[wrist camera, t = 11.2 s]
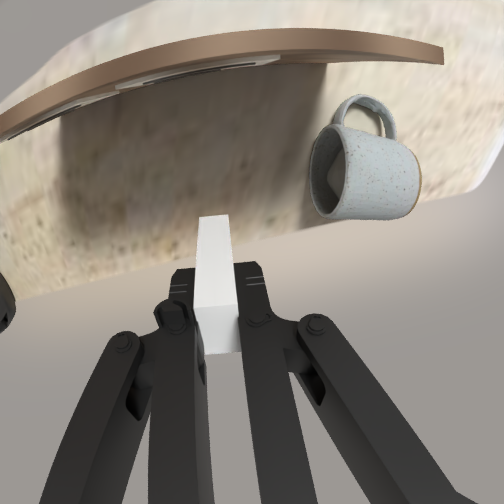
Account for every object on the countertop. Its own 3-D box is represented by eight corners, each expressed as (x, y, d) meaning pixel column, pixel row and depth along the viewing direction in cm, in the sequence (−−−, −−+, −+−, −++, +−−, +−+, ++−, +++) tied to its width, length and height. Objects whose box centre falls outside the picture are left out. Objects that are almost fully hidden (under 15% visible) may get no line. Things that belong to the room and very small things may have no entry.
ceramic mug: (376, 201, 28) (414, 239, 22) (303, 195, 27) (329, 235, 21) (397, 104, 22) (447, 118, 16) (319, 86, 21) (356, 90, 15)
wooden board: (63, 117, 20) (-54, 178, 8) (60, 107, 19) (-59, 160, 7) (328, 66, 20) (444, 71, 8) (326, 54, 20) (442, 47, 7)
